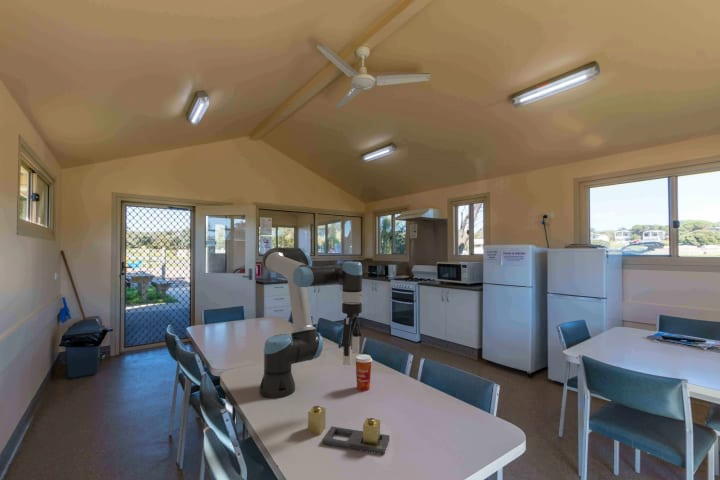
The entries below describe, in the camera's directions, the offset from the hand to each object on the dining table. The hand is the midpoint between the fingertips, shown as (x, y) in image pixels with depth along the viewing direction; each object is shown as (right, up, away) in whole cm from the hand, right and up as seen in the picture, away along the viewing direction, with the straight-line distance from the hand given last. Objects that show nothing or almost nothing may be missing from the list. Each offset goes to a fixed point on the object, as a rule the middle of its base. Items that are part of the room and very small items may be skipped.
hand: (351, 358), depth 128 cm
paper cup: (+5, -21, +22) cm, 31 cm away
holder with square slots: (+2, -20, -20) cm, 28 cm away
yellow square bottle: (-12, -20, -13) cm, 27 cm away
